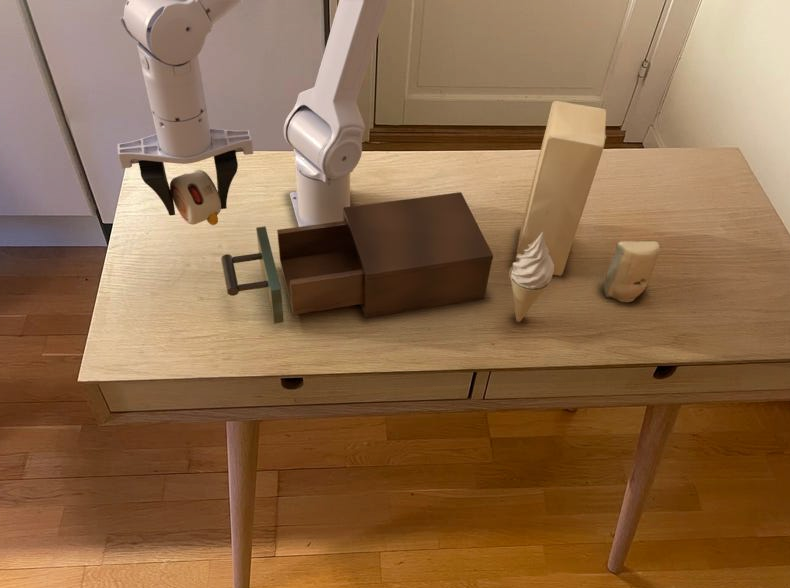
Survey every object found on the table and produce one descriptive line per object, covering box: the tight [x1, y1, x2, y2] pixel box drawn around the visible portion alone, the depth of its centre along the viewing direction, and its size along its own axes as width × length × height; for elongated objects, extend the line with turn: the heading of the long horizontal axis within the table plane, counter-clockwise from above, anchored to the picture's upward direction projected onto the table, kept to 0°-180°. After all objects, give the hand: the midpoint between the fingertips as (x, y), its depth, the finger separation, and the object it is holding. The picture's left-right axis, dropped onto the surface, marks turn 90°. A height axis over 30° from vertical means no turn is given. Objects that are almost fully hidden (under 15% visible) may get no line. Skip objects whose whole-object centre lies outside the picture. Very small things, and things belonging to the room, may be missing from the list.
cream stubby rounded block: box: [602, 240, 662, 303], centre depth 98 cm, size 6×5×8 cm
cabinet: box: [343, 191, 494, 318], centre depth 98 cm, size 16×13×8 cm
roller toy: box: [169, 168, 222, 226], centre depth 90 cm, size 4×6×6 cm
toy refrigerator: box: [514, 100, 607, 277], centre depth 97 cm, size 8×7×21 cm
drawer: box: [220, 221, 365, 324], centre depth 95 cm, size 20×11×6 cm, turn 106°
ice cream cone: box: [508, 232, 554, 323], centre depth 91 cm, size 5×5×15 cm
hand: (197, 206), depth 91 cm, fingers closed on roller toy, 5 cm apart
